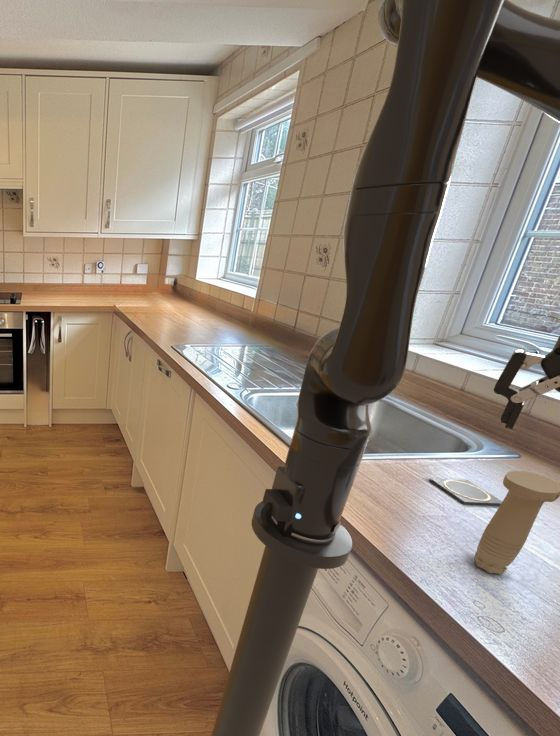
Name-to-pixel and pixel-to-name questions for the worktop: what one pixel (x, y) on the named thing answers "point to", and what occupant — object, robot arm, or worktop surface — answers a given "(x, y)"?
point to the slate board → (466, 492)
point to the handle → (514, 519)
